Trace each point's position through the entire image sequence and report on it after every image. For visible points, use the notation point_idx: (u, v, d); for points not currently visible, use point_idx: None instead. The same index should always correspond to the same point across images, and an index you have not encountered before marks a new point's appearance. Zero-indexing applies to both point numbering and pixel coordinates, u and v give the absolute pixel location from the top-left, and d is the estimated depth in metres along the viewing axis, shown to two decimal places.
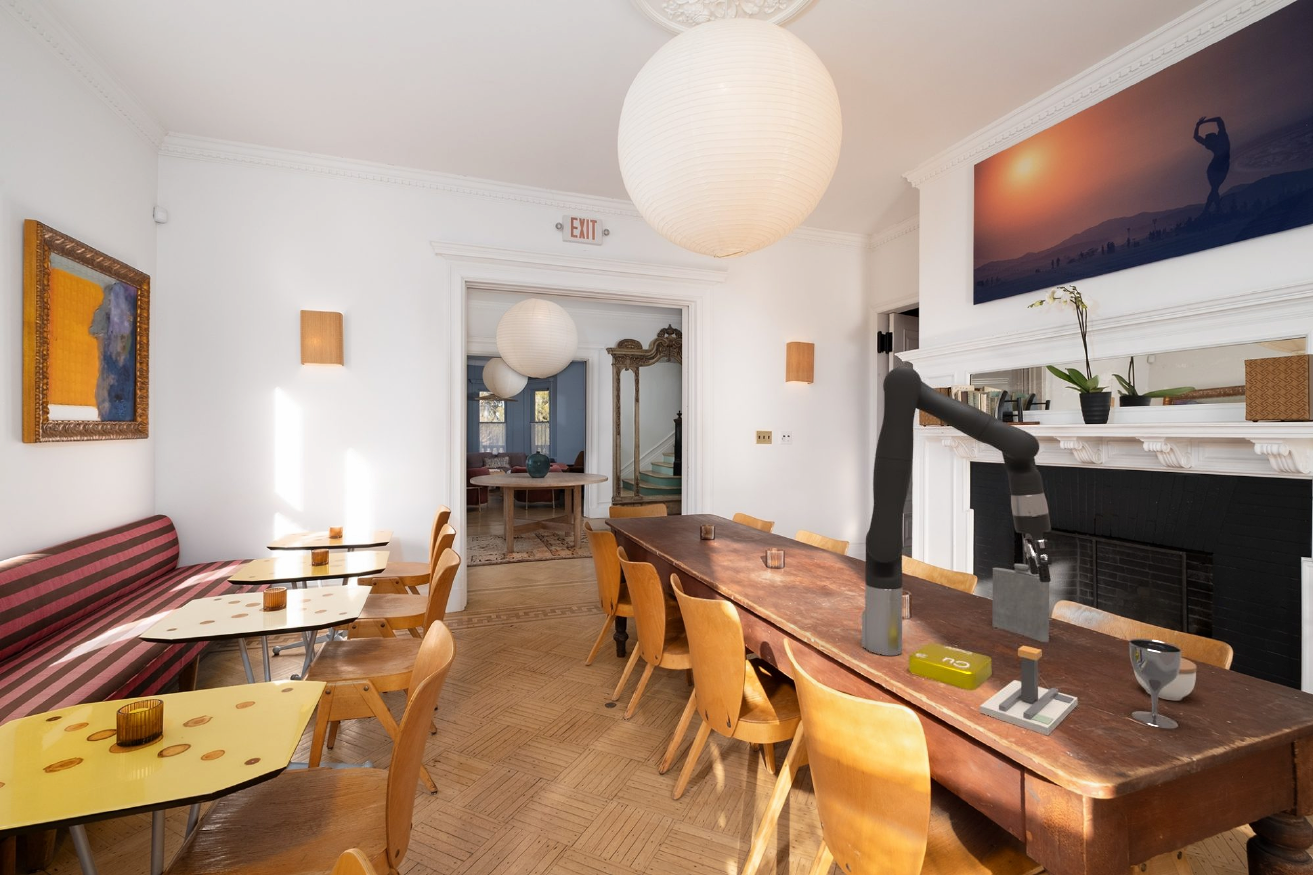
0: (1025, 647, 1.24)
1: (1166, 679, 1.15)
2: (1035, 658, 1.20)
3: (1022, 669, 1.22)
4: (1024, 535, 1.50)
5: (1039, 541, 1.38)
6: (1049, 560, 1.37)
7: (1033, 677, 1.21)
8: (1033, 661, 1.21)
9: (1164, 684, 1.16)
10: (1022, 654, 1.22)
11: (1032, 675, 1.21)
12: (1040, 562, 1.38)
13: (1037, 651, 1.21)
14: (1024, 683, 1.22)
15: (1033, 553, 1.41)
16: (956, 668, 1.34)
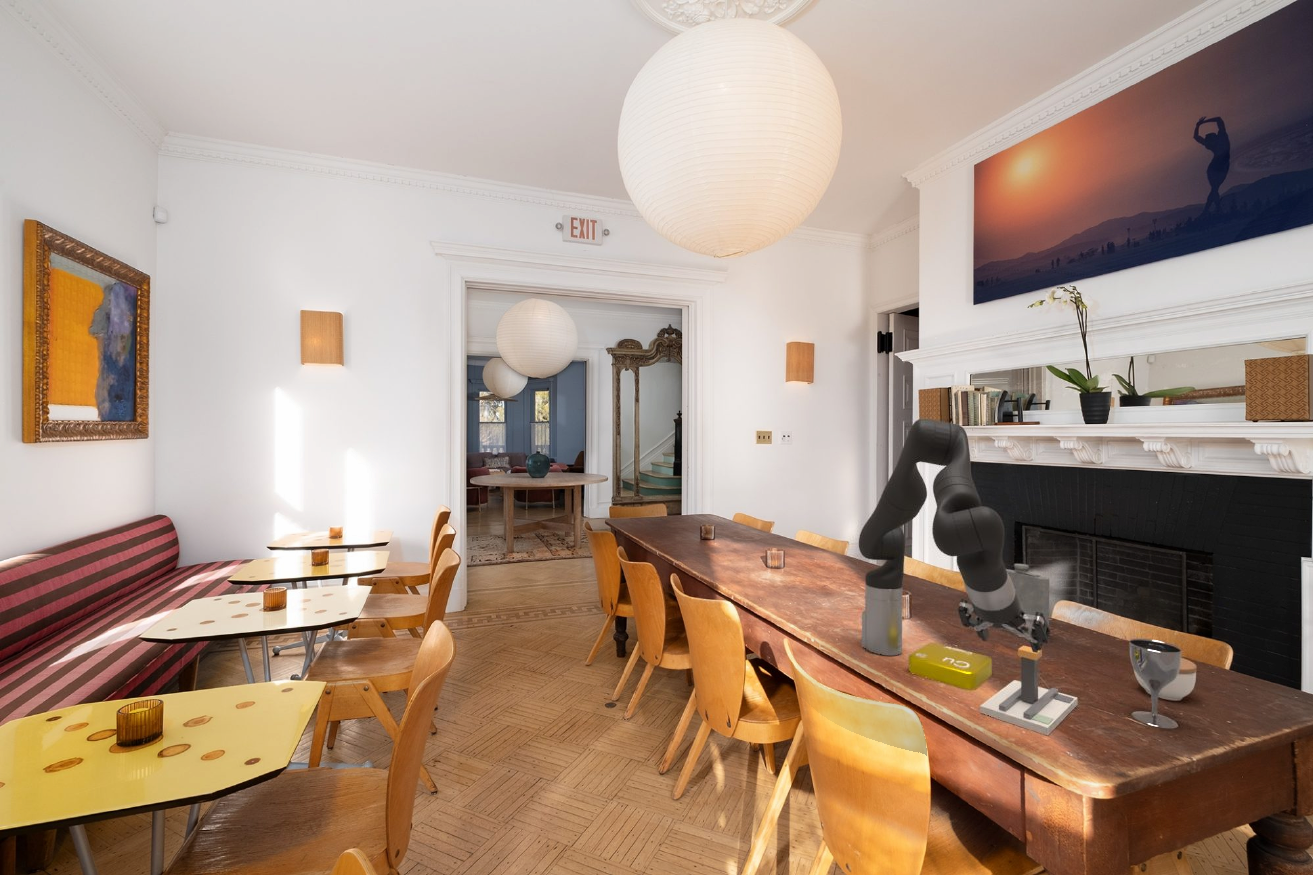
0: (1025, 647, 1.24)
1: (1166, 679, 1.15)
2: (1035, 658, 1.20)
3: (1022, 669, 1.22)
4: None
5: (960, 602, 1.13)
6: None
7: (1033, 677, 1.21)
8: (1033, 661, 1.21)
9: (1164, 684, 1.16)
10: (1022, 654, 1.22)
11: (1032, 675, 1.21)
12: None
13: None
14: (1024, 683, 1.22)
15: None
16: (956, 668, 1.34)
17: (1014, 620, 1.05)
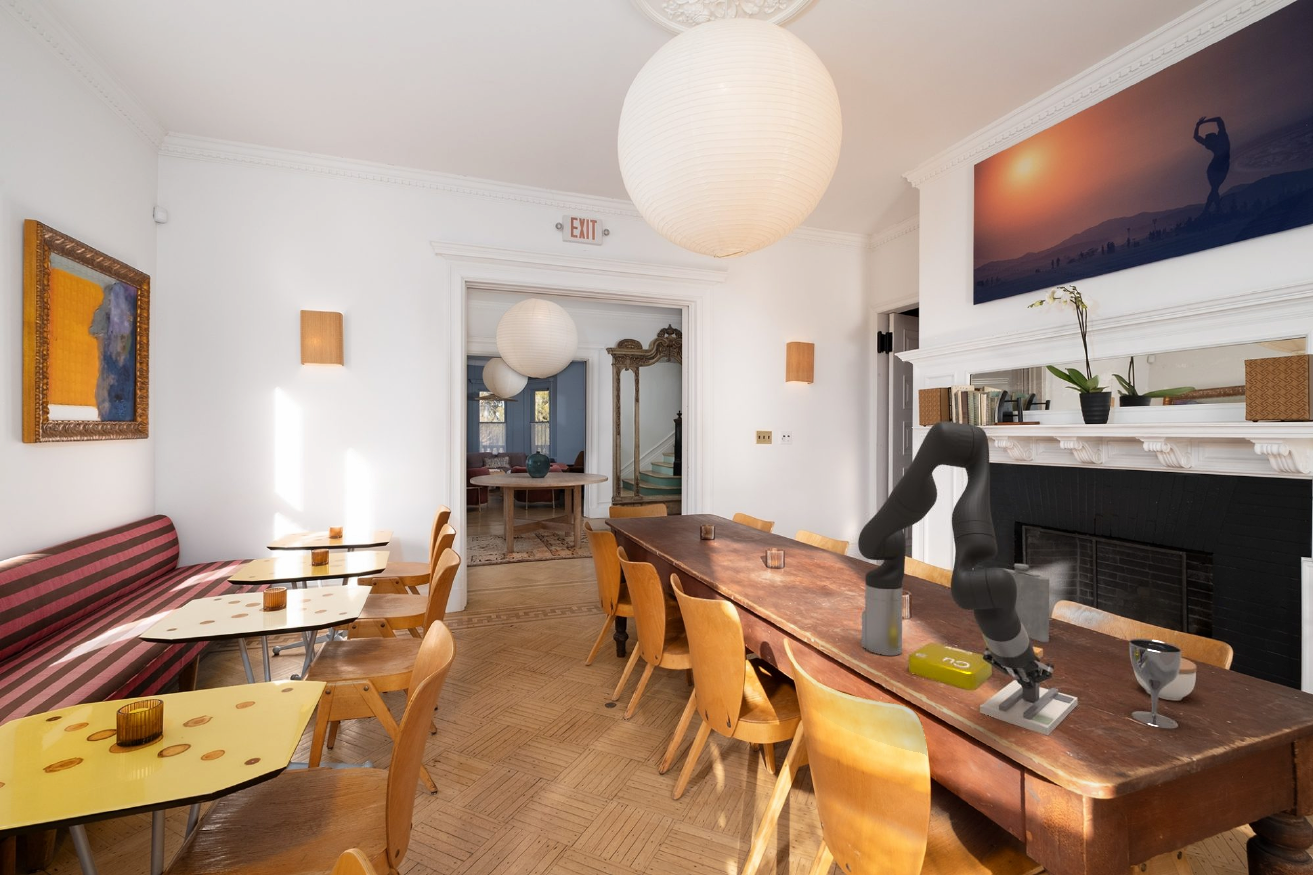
0: None
1: (1166, 679, 1.15)
2: None
3: None
4: (1046, 664, 1.14)
5: None
6: None
7: None
8: None
9: (1164, 684, 1.16)
10: None
11: None
12: None
13: (1038, 650, 1.22)
14: None
15: None
16: (956, 668, 1.34)
17: (1030, 665, 1.14)
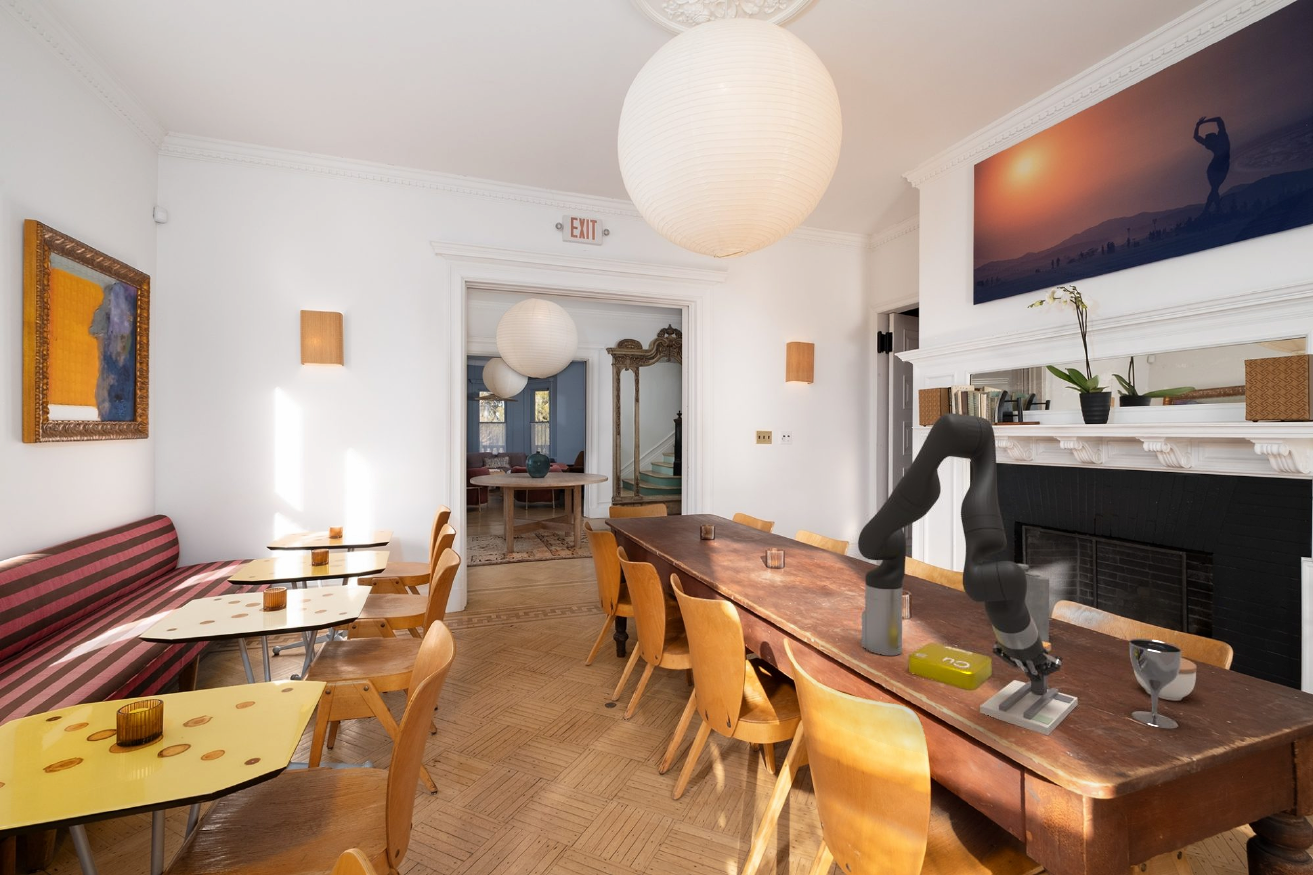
0: None
1: (1166, 679, 1.15)
2: None
3: None
4: (1055, 657, 1.18)
5: None
6: None
7: None
8: None
9: (1164, 684, 1.16)
10: None
11: None
12: None
13: (1046, 644, 1.25)
14: None
15: None
16: (956, 668, 1.34)
17: (1038, 657, 1.17)
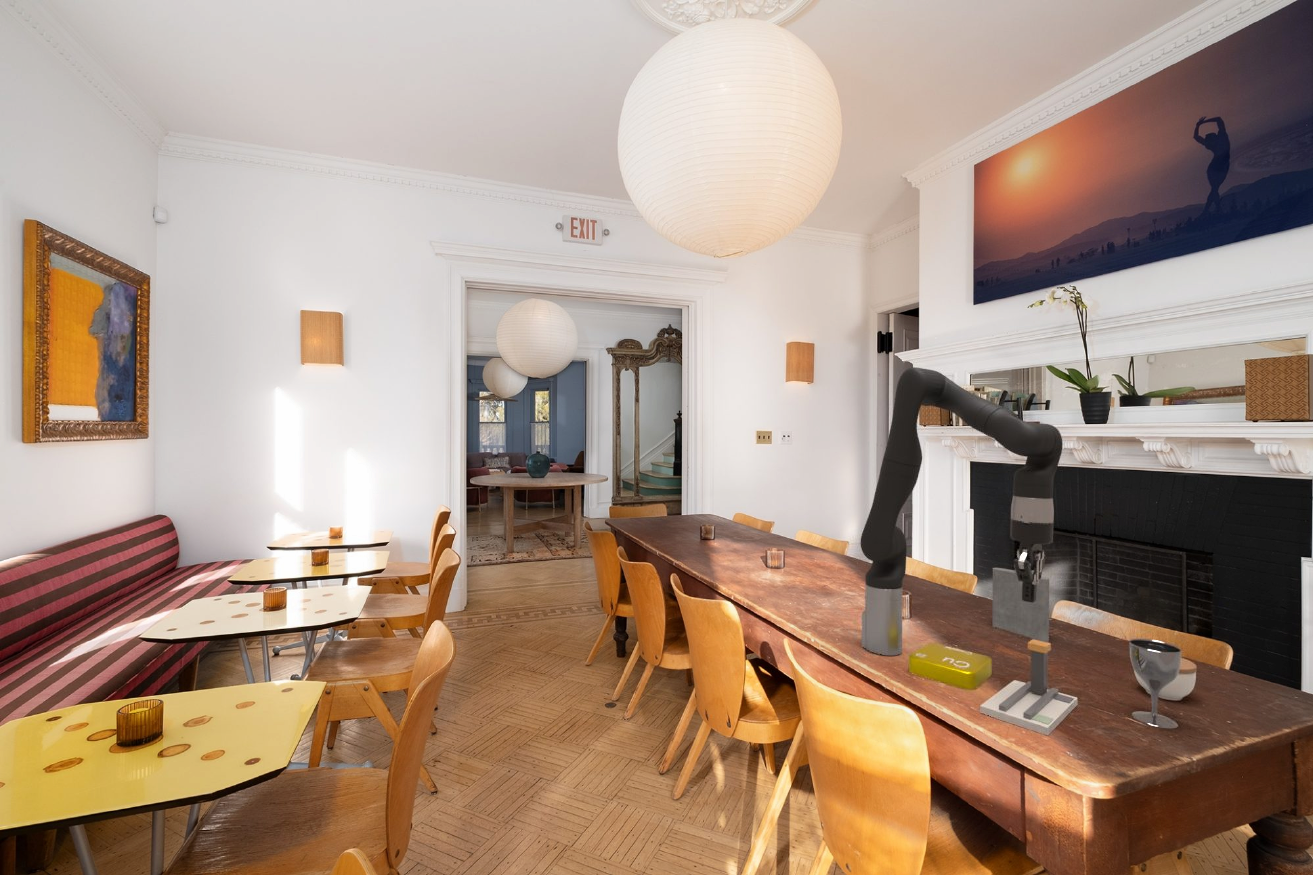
0: (1034, 641, 1.27)
1: (1166, 679, 1.15)
2: (1044, 651, 1.24)
3: (1032, 662, 1.26)
4: None
5: (1018, 563, 1.19)
6: (1029, 580, 1.19)
7: (1042, 670, 1.25)
8: (1042, 654, 1.25)
9: (1164, 684, 1.16)
10: (1032, 647, 1.26)
11: (1041, 668, 1.25)
12: (1019, 579, 1.21)
13: (1046, 644, 1.25)
14: (1034, 675, 1.26)
15: None
16: (956, 668, 1.34)
17: (1041, 547, 1.24)
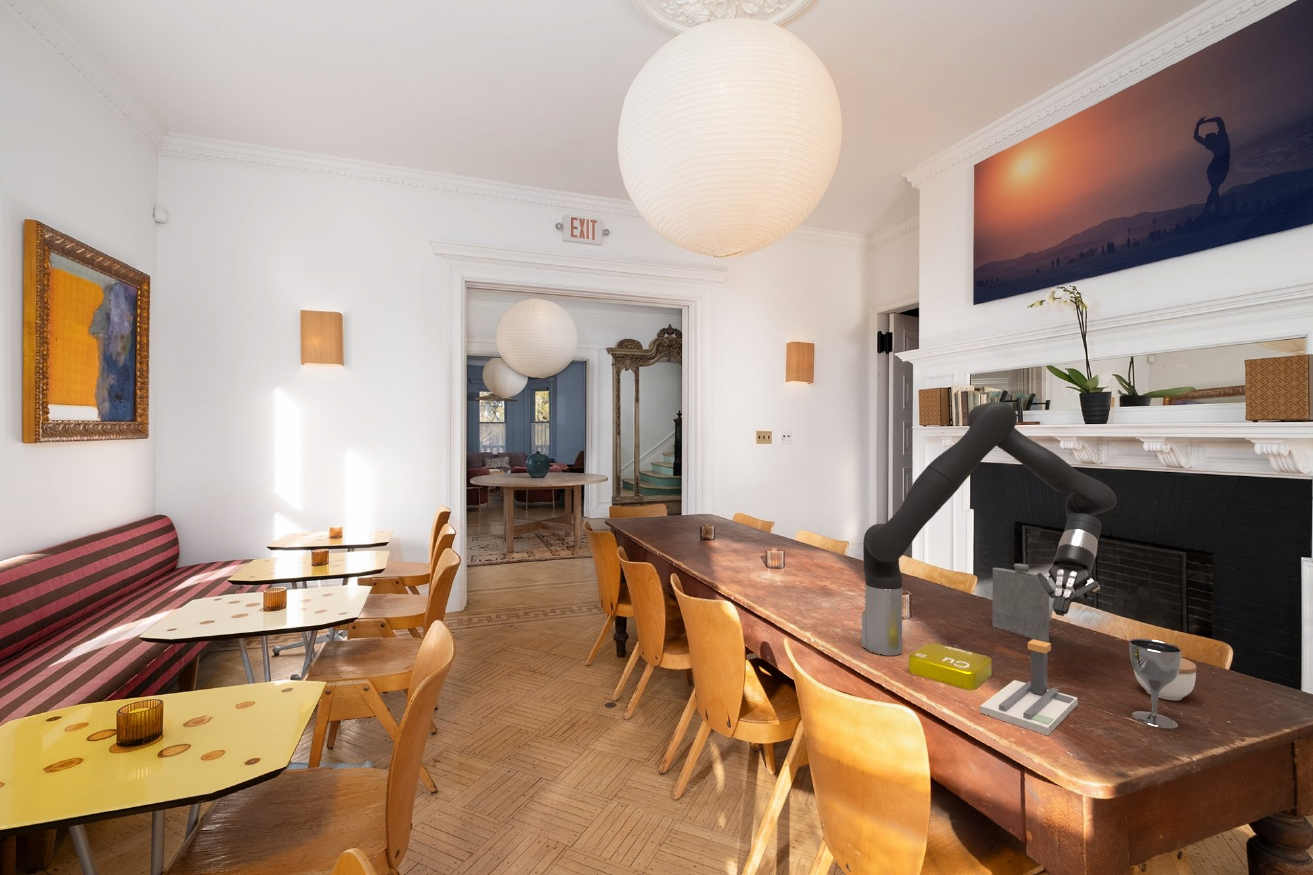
0: (1034, 641, 1.27)
1: (1166, 679, 1.15)
2: (1044, 651, 1.24)
3: (1032, 662, 1.26)
4: (1042, 574, 1.42)
5: (1098, 586, 1.33)
6: (1082, 600, 1.34)
7: (1042, 670, 1.25)
8: (1042, 654, 1.25)
9: (1164, 684, 1.16)
10: (1032, 647, 1.26)
11: (1041, 668, 1.25)
12: (1079, 596, 1.34)
13: (1046, 644, 1.25)
14: (1034, 675, 1.26)
15: (1072, 586, 1.35)
16: (956, 668, 1.34)
17: None
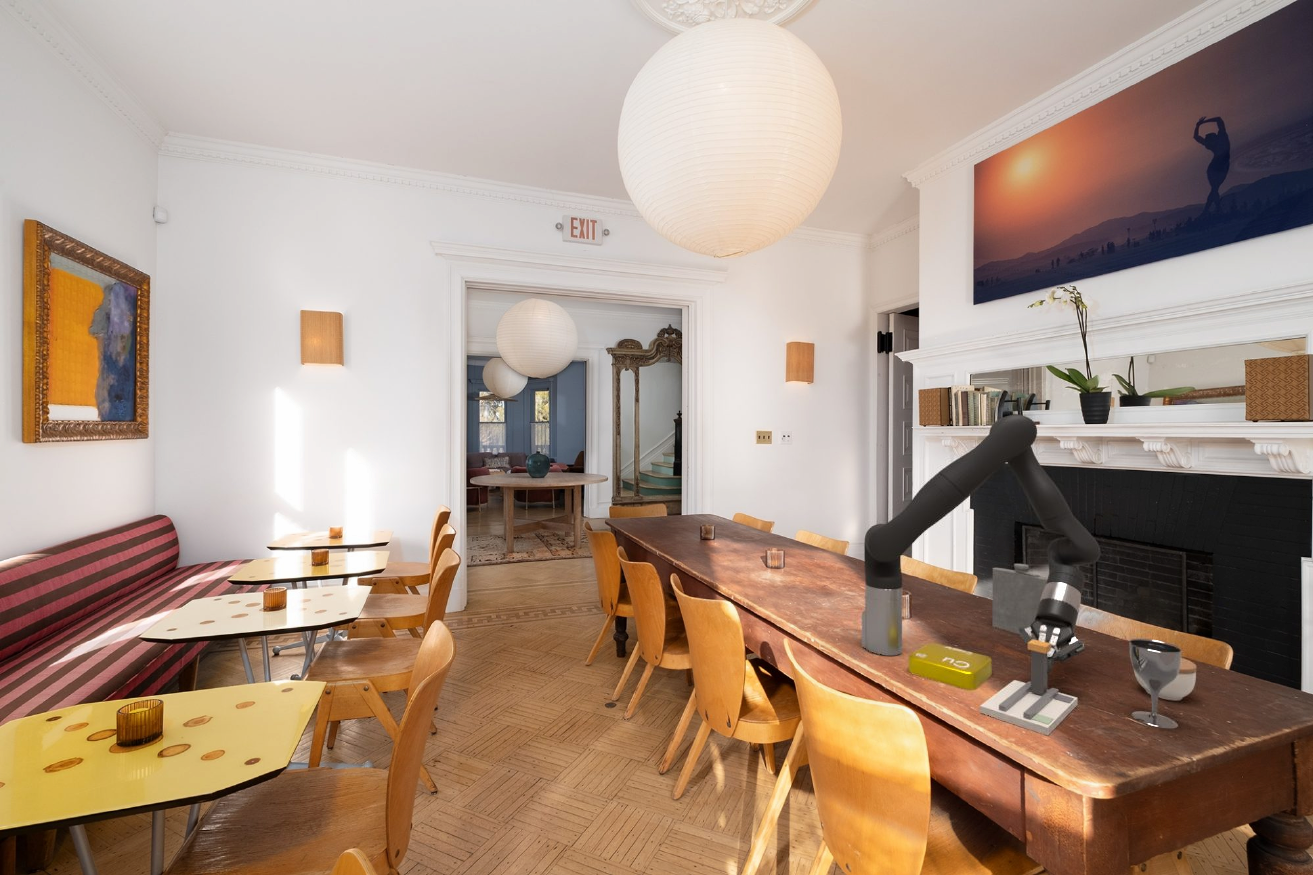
0: (1034, 641, 1.27)
1: (1166, 679, 1.15)
2: (1044, 651, 1.24)
3: (1032, 662, 1.26)
4: (1024, 629, 1.35)
5: (1082, 645, 1.27)
6: (1065, 660, 1.28)
7: (1042, 670, 1.25)
8: (1042, 654, 1.25)
9: (1164, 684, 1.16)
10: (1032, 647, 1.26)
11: (1041, 668, 1.25)
12: (1062, 656, 1.27)
13: (1046, 644, 1.25)
14: (1034, 675, 1.26)
15: (1055, 644, 1.29)
16: (956, 668, 1.34)
17: None
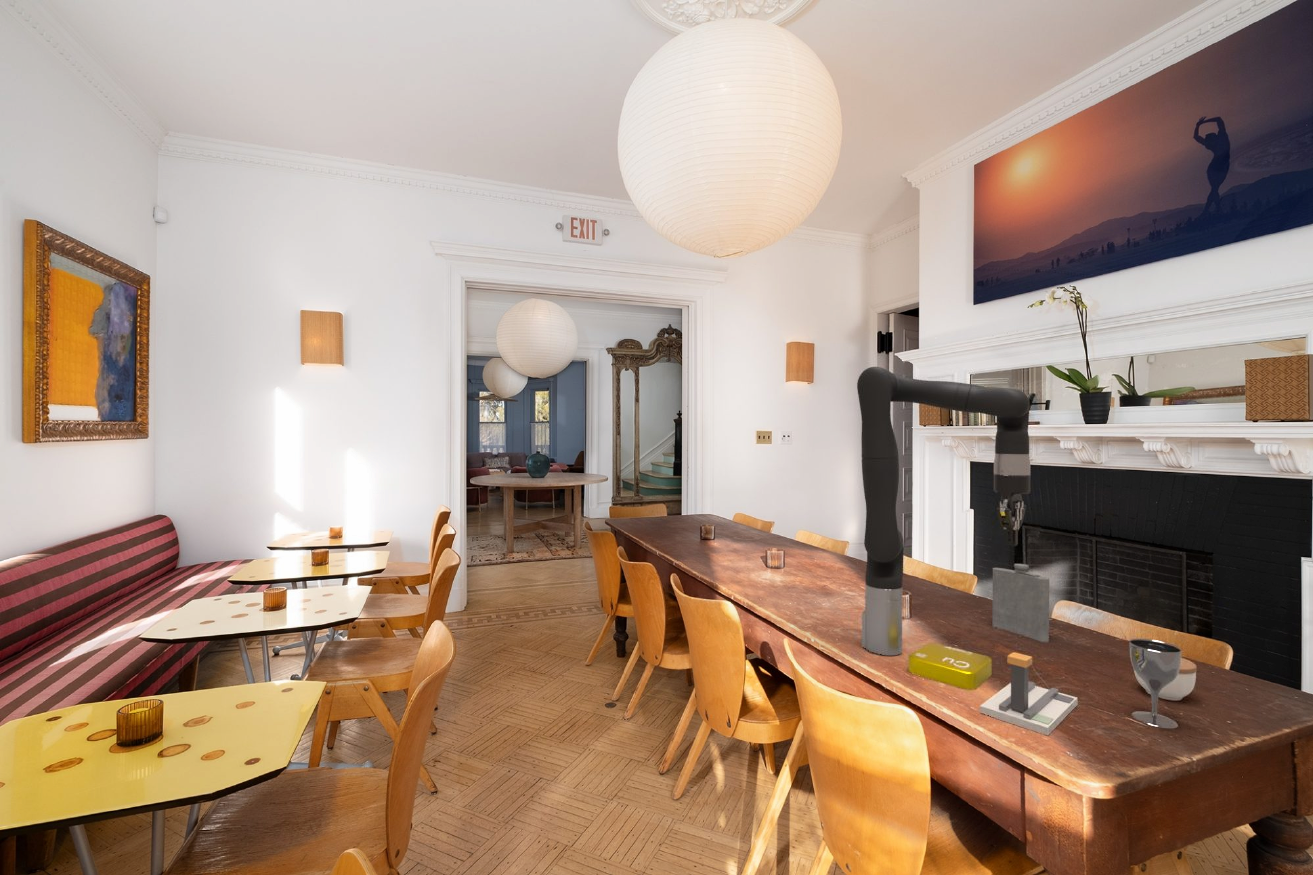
0: (1015, 654, 1.20)
1: (1166, 679, 1.15)
2: (1025, 665, 1.16)
3: (1012, 676, 1.18)
4: None
5: (1000, 510, 1.37)
6: (1010, 525, 1.37)
7: (1023, 685, 1.17)
8: (1023, 668, 1.17)
9: (1164, 684, 1.16)
10: (1012, 661, 1.18)
11: (1022, 683, 1.17)
12: (1002, 525, 1.39)
13: (1027, 658, 1.17)
14: (1014, 691, 1.18)
15: None
16: (956, 668, 1.34)
17: (1021, 498, 1.41)
